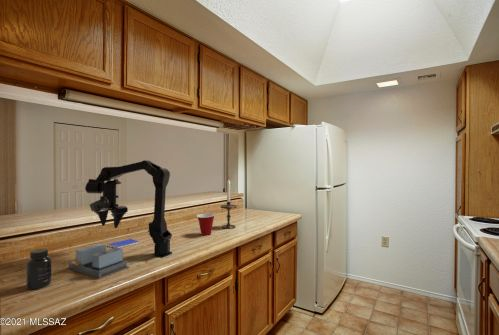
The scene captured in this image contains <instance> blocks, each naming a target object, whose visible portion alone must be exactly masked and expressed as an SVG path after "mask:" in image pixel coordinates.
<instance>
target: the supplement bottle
mask: <svg viewBox="0 0 499 335" xmlns="http://www.w3.org/2000/svg"><path fill="white" fill-rule="evenodd" d="M25 264H26V266H25V277H26V278H25V279H26V280H25V285H26V289H28V290H30V291H31V290H32V291H33V290H35V291H36V290H39V289H43V288H47V287H49V286H50V285H51V283H52V258H51V257H50V256H49V250H48V249H47V248H38V249H34V250H31V251H30V252H29V259H28V260H27V261H26V263H25Z"/></svg>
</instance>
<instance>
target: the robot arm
mask: <svg viewBox="0 0 499 335" xmlns="http://www.w3.org/2000/svg"><path fill="white" fill-rule="evenodd" d="M140 171H145V172H146V173H147V174H148V175H150V176H151V178H152V182H153V185H154V190H155V191H154V204H153V205H154V209H153V220H152V221H150V222H149V223H148V230H147V233H148V234H149V236H150V238H151V240H152V242H153V244H154V248H153V249H154V251H153V252H154V253H152V256H155V257H156V256H157V257H159V258H164V257H167V256H169V255H172V254H173V251H171V238H172V236H173V234H172V233H171V232H170V231H169V230H168V225H167V221H166V219H165V210H166V208H165V207H166V191H167V190H166V189H167V186H168V184H169V182H170V177H171V173H170V171H169V169H167V168H163V167H161V166H160V165H159V164H158V165H157V164H156V163H154V162H152V161H151V160H147V159H145V160H141V161H138V162H134V163H131V164H124V165H121V166H105V167H103V168H102V169H101V170H100V173H99V174H98V176H97V177H96V179H95V178H89V179H88V181H87V183H86V184H85V186H84V188H85V192H86V193H87V194H102V195H101V196H100V197H99V199H98V200H96V201H94V202H92V203H89V208H90V211H91V212H94V213H95V214H96V215H97V216H98V218H99V220H100V224H101V225H102V226H103V227H104V226H106V224H107V219H108V215H109V211H110V212H111V214H110V216H112V218H113V225H114V226H113V228H114V229H116V228H118V227H119V225H120V223H121V220H122V219H123V217H124V215H126V213H128V210H129V209H128V207H127V206H126V205H119V204H118V203H117V199H118V198H119V195H117V185H121V184H122V182H121V181H119V180H118V179H117V178H120V177H122V176H123V175H126V174H131V173H135V172H140Z"/></svg>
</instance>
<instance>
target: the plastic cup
mask: <svg viewBox="0 0 499 335" xmlns="http://www.w3.org/2000/svg"><path fill="white" fill-rule="evenodd" d="M215 216H216V214H215V213H214V212H213V213H212V212H207V213H201V214H197V215H196V217H197V220H198V223H199V230H200V234H201V236H211V235H212V231H213V225H214V224H213V223H214V218H215Z"/></svg>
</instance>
